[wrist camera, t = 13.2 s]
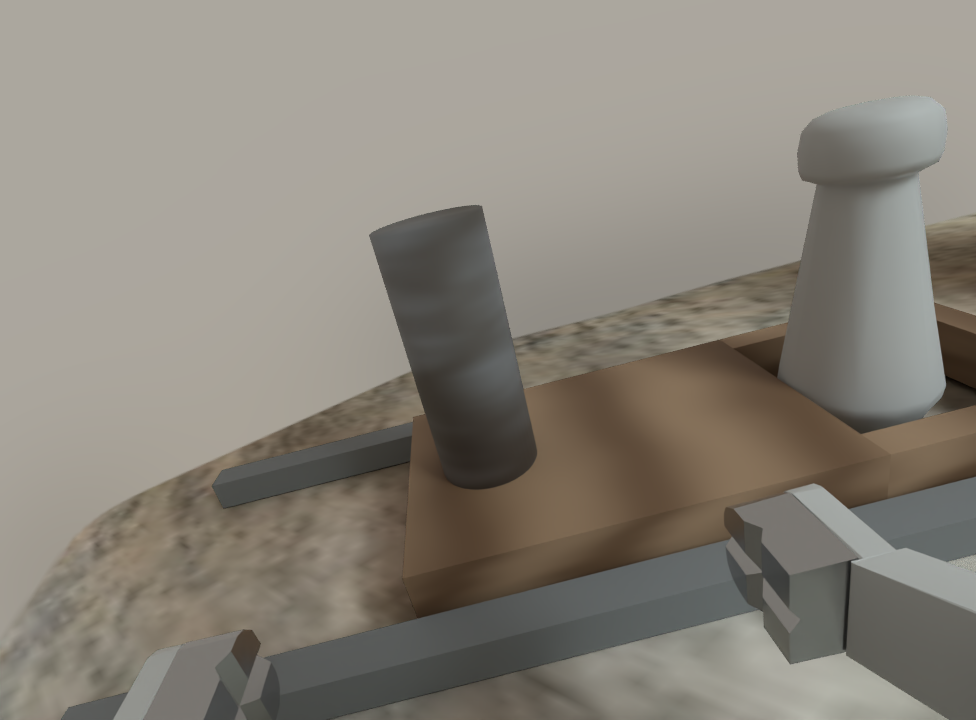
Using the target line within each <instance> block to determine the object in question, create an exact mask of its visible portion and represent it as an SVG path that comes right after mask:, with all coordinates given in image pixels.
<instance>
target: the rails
mask: <svg viewBox="0 0 976 720" xmlns="http://www.w3.org/2000/svg"><path fill="white" fill-rule="evenodd" d="M412 428H413V422H411V423H407V424H403V425H399V426H395V427H391V428H387V429H383V430H379V431H375V432H371V433H367V434H363V435H359V436H355V437H352V438H348V439H344V440H340V441H336V442H332V443H328V444H324V445H320V446H316V447H312V448H308V449H304V450H300V451H296V452H292V453H288V454H284V455H280V456H276V457H272V458H268V459H264V460H260V461H257V462H253V463H249V464H245V465H241V466H237V467H233V468H229V469H225V470H222V471H221V473H220V474H219V476H218V477H217V479H216V480H215V482H214V483H213V485H212V488H213V489H214V491H215V493H216V495H217V497H218V499H219V501H220V503H221V505H222V506H223V508H227V507H231V506H235V505H239V504H243V503H247V502H251V501H255V500H259V499H263V498H266V497H270V496H274V495H278V494H282V493H286V492H290V491H294V490H298V489H302V488H306V487H310V486H314V485H318V484H322V483H326V482H330V481H334V480H338V479H342V478H346V477H349V476H353V475H357V474H361V473H365V472H369V471H373V470H377V469H381V468H385V467H389V466H393V465H397V464H401V463H405V462H409V461H410V458H411V443H412ZM849 510H850V511H851V512H852V513H854V514H855V515H856V516H857V517H858V518H859V519H861V520H862V521H863V522H864V523H865V524H866V525H868V526H869V527H870V528H871V529H872V530H873V531H875V532H876V533H877V534H878V535H879V536H880V537H882V538H883V539H884V540H885V541H886V542H888V543H889V544H890V545H891V546H892V547H893V548H895V549H896V550H898V549H903V548H908V549H911V550H914V551H917V552H919V553H922V554H925V555H928V556H931V557H934V558H936V559H939V560H942V561H945V562H947V561H951V560H954V559H958V558H962V557H966V556H970V555H974V554H976V477H973V478H969V479H965V480H961V481H957V482H953V483H949V484H945V485H941V486H937V487H933V488H929V489H925V490H922V491H918V492H914V493H910V494H906V495H902V496H898V497H894V498H890V499H886V500H882V501H878V502H874V503H870V504H867V505H863V506H859V507H855V508H851V509H849ZM729 540H730V539H729ZM729 540H725V541H721V542H717V543H713V544H709V545H705V546H701V547H697V548H694V549H690V550H686V551H682V552H678V553H674V554H670V555H666V556H662V557H658V558H654V559H650V560H646V561H642V562H638V563H635V564H631V565H627V566H623V567H619V568H615V569H611V570H607V571H603V572H599V573H595V574H591V575H587V576H583V577H579V578H576V579H572V580H568V581H564V582H560V583H556V584H552V585H548V586H544V587H540V588H536V589H532V590H528V591H524V592H521V593H517V594H513V595H509V596H505V597H501V598H497V599H493V600H489V601H485V602H481V603H477V604H473V605H469V606H465V607H462V608H458V609H454V610H450V611H446V612H442V613H438V614H434V615H430V616H426V617H422V618H418V619H414V620H410V621H406V622H403V623H399V624H395V625H391V626H387V627H383V628H379V629H375V630H371V631H367V632H363V633H359V634H355V635H351V636H347V637H344V638H340V639H336V640H332V641H328V642H324V643H320V644H316V645H312V646H308V647H304V648H300V649H296V650H292V651H289V652H285V653H281V654H277V655H273V656H269V657H265V658H264V659H266V660H268V661H270V662H271V663H272V665H273V667H274V669H275V670H276V672H277V676H278V680H279V684H280V706H279V710H278V714H277V718H276V720H327V719H331V718H335V717H339V716H343V715H347V714H351V713H355V712H358V711H362V710H366V709H370V708H374V707H378V706H382V705H386V704H390V703H394V702H398V701H402V700H406V699H409V698H413V697H417V696H421V695H425V694H429V693H433V692H437V691H441V690H445V689H449V688H453V687H457V686H460V685H464V684H468V683H472V682H476V681H480V680H484V679H488V678H492V677H496V676H500V675H504V674H507V673H511V672H515V671H519V670H523V669H527V668H531V667H535V666H539V665H543V664H547V663H551V662H555V661H558V660H562V659H566V658H570V657H574V656H578V655H582V654H586V653H590V652H594V651H598V650H602V649H606V648H609V647H613V646H617V645H621V644H625V643H629V642H633V641H637V640H641V639H645V638H649V637H653V636H656V635H660V634H664V633H668V632H672V631H676V630H680V629H684V628H688V627H692V626H696V625H700V624H704V623H707V622H711V621H715V620H719V619H723V618H727V617H731V616H735V615H739V614H743V613H747V612H751V611H755V610H758V609H757V608H755V607H753V606H751V605H749V604H748V603H747V602H746V601H745V599H744V598H743V596H742V595H741V593H740V592H739V590H738V588H737V586H736V584H735V582H734V580H733V578H732V575H731V572H730V569H729V566H728V563H727V555H726V545H727V543H728V542H729ZM127 694H128V692H127V693H123V694H119V695H116V696H112V697H108V698H104V699H100V700H96V701H92V702H88V703H84V704H80V705H76V706H72V707H69V708H68V709H67V711H66V712H65V714H64V715H63V717H62V718H61V720H113V719H114V717H115V715H116V714H117V712H118V710H119V708H120V706H121V705H122V703H123V701H124V699H125V698H126V696H127Z"/></svg>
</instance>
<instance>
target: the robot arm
mask: <svg viewBox="0 0 976 720" xmlns="http://www.w3.org/2000/svg"><path fill="white" fill-rule="evenodd" d="M724 526H725V528H726V529H727V530H728V532H729V533H730V534H731V536H732V537H731V539H730V540H729V542H728V543H727V545H726V555H727V563H728V566H729V569H730V572H731V575H732V578H733V580H734V582H735V584H736V586H737V588H738V590H739V592H740V593H741V595H742V596H743V598H744V599H745V601H746V602H747V603H748V604H749V605H751V606H753V607H755V608H757V609H758V610H760V611H762V612H763V619H764V628H765V629H766V631H767V632H768V634H769V635H770V637H771V638H772V639H773V641H774V642H775V644H776V645H777V647H778V648H779V649H780V651H781V652H782V654H783V655H784V656H785V658H786V659H787V661H788V662H789V664H794V663H799V662H803V661H808V660H812V659H817V658H821V657H826V656H830V655H835V654H839V653H843V652H846V655H847V656H848V657H850V658H851V659H853V660H855V661H856V662H858V663H859V664H861V665H863V666H864V667H866V668H867V669H869V670H871V671H872V672H874V673H875V674H877V675H878V676H880V677H882V678H883V679H885V680H886V681H888V682H890V683H891V684H893V685H894V686H896V687H898V688H899V689H901V690H902V691H904V692H906V693H907V694H909V695H910V696H912V697H914V698H915V699H917V700H918V701H920V702H922V703H923V704H925V705H926V706H928V707H930V708H931V709H933V710H934V711H936V712H937V713H939V714H941V715H942V716H944V717H945V718H947V719H949V720H976V572H973V571H970V570H968V569H965V568H962V567H959V566H956V565H953V564H951V563H948V562H945V561H942V560H939V559H936V558H934V557H931V556H928V555H925V554H922V553H919V552H917V551H914V550H911V549H908V548H903V549H898V550H896V549H895V548H893V547H892V546H891V545H890V544H889V543H888V542H886V541H885V540H884V539H883V538H882V537H880V536H879V535H878V534H877V533H876V532H875V531H873V530H872V529H871V528H870V527H869V526H868V525H866V524H865V523H864V522H863V521H862V520H861V519H859V518H858V517H857V516H856V515H855V514H854V513H852V512H851V511H850V510H849V509H848V508H847V507H845V506H844V505H843V504H842V503H841V502H840V501H838V500H837V499H836V498H835V497H834V496H833V495H831V494H830V493H829V492H828V491H827V490H825V489H824V488H823V487H822V486H820V485H817V484H814V483H813V484H810V485H806V486H802V487H798V488H795V489H791V490H787V491H784V492H783V493H777V494H773V495H769V496H765V497H762V498H758V499H754V500H750V501H747V502H743V503H739V504H735V505H731V506H728V507H726V508H725V511H724ZM260 644H261V643H260V642H259V640H258V639H257V637H256V636H255V634H254V632H253V631H252V630H240V631H235V632H231V633H227V634H222V635H218V636H213V637H209V638H204V639H200V640H196V641H191V642H187V643H186V644H181V645H177V646H172V647H168V648H163V649H159V650H157V651H156V652H154V653H153V654H152V655H151V656H149V657H148V658H147V660H146V662H145V664H144V665H143V667H142V669H141V671H140V673H139V674H138V676H137V678H136V680H135V682H134V683H133V685H132V687H131V689H130V690H129V692H128V694H127V696H126V698H125V699H124V701H123V703H122V705H121V706H120V708H119V710H118V712H117V714H116V715H115V717H114V719H113V720H276V718H277V714H278V710H279V706H280V684H279V680H278V676H277V672H276V670H275V669H274V667H273V665H272V663H271V662H270V661H268V660H266V659H264V658H262V657H260V656H258V655H257V653H258V650H259V647H260Z"/></svg>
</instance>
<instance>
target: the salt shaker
mask: <svg viewBox="0 0 976 720" xmlns="http://www.w3.org/2000/svg"><path fill="white" fill-rule="evenodd" d="M947 131H948V127H947V119H946V110H945V108H944V107H943V106H941V105H940V104H939V103H937V102H936V101H935V100H934V99H933V98H931V97H923V96H902V97H893V98H887V99H881V100H875V101H868V102H864V103H860V104H856V105H851V106H847V107H843V108H839V109H836V110H833V111H830V112H828V113H825V114H823V115H821V116H819V117H817V118H815V119H813V120H812V121H811V122H810V123H809V124H808V125H807V127H806V128H805V129H804V130H803V131H802V133H801V137H800V142H799V147H798V153H797V157H798V170H799V174H800V177H801V179H802V180H803V181H807V182H811V183H814V184H817V186H816V191H815V195H814V200H813V205H812V210H811V215H810V220H809V224H808V229H807V234H806V239H805V244H804V248H803V253H802V259H801V263H800V268H799V272H798V277H797V282H796V287H795V292H794V297H793V301H792V306H791V311H790V316H789V321H788V325H787V330H786V335H785V340H784V345H783V349H782V354H781V359H780V364H779V370H778V376H777V378H778V379H779V380H781V381H782V382H784V383H785V384H787V385H788V386H790V387H791V388H793V389H794V390H796V391H797V392H799V393H800V394H802V395H803V396H805V397H806V398H808V399H809V400H811V401H812V402H814V403H815V404H817V405H818V406H820V407H821V408H823V409H824V410H826V411H827V412H829V413H830V414H832V415H833V416H835V417H836V418H838V419H839V420H841V421H842V422H844V423H845V424H847V425H848V426H850V427H851V428H853V429H854V430H855V431H857V432H858V433H860V434H864V433H868V432H872V431H876V430H880V429H884V428H887V427H891V426H895V425H899V424H903V423H907V422H911V421H915V420H919V419H922V418H923V416H924V415H925V414H926V413H927V412H928V411H929V410H930V409H931V408H932V407H933V406H934V405H935V404H936V403H937V402H938V401H939V400H940V398H941V397H942V395H943V393H944V390H945V387H946V381H945V374H944V368H943V361H942V354H941V348H940V341H939V334H938V328H937V321H936V314H935V307H934V299H933V291H932V282H931V274H930V265H929V257H928V249H927V240H926V232H925V223H924V215H923V207H922V198H921V190H920V181H919V174H918V172H919V171H922V170H923V169H925V168H927V167H929V166H931V165H933V164H935V163H937V162H939V160H940V158H941V156H942V154H943V152H944V148H945V143H946V137H947Z"/></svg>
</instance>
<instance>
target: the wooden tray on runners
mask: <svg viewBox="0 0 976 720" xmlns="http://www.w3.org/2000/svg"><path fill="white" fill-rule="evenodd" d="M369 236H370V239H371V243H372V246H373V249H374V252H375V255H376V259H377V262H378V265H379V268H380V271H381V274H382V278H383V281H384V284H385V287H386V290H387V293H388V297H389V300H390V303H391V306H392V309H393V312H394V316H395V319H396V322H397V325H398V328H399V331H400V335H401V338H402V341H403V344H404V347H405V351H406V353H407V357H408V360H409V363H410V366H411V370H412V373H413V376H414V379H415V382H416V385H417V389H418V392H419V395H420V398H421V401H422V405H423V408H424V411H425V414H423V415H419V416H415V417H413V428H412V443H411V458H410V472H409V487H408V502H407V517H406V531H405V546H404V561H403V576H402V579H403V582H404V584H405V587H406V589H407V592H408V594H409V597H410V600H411V602H412V605H413V607H414V610H415V612H416V615H417V618H422V617H426V616H430V615H434V614H438V613H442V612H446V611H450V610H454V609H458V608H462V607H465V606H469V605H473V604H477V603H481V602H485V601H489V600H493V599H497V598H501V597H505V596H509V595H513V594H517V593H521V592H524V591H528V590H532V589H536V588H540V587H544V586H548V585H552V584H556V583H560V582H564V581H568V580H572V579H576V578H579V577H583V576H587V575H591V574H595V573H599V572H603V571H607V570H611V569H615V568H619V567H623V566H627V565H631V564H635V563H638V562H642V561H646V560H650V559H654V558H658V557H662V556H666V555H670V554H674V553H678V552H682V551H686V550H690V549H694V548H697V547H701V546H705V545H709V544H713V543H717V542H721V541H725V540H729V539H731V537H732V536H731V534H730V533H729V532H728V530H727V529H726V528H725V526H724V511H725V508H726V507H728V506H731V505H735V504H739V503H743V502H747V501H750V500H754V499H758V498H762V497H765V496H769V495H773V494H777V493H783V492H784V491H787V490H791V489H795V488H798V487H802V486H806V485H810V484H813V483H814V484H817V485H820V486H822V487H823V488H824V489H825V490H827V491H828V492H829V493H830V494H831V495H833V496H834V497H835V498H836V499H837V500H838V501H840V502H841V503H842V504H843V505H844V506H845V507H847V508H848V509H851V508H855V507H859V506H863V505H867V504H870V503H874V502H878V501H882V500H886V499H890V498H894V497H898V496H902V495H906V494H910V493H914V492H918V491H922V490H925V489H929V488H933V487H937V486H941V485H945V484H949V483H953V482H957V481H961V480H965V479H969V478H973V477H976V405H974V406H970V407H966V408H962V409H958V410H954V411H951V412H947V413H943V414H939V415H935V416H931V417H927V418H923V419H919V420H915V421H911V422H907V423H903V424H899V425H895V426H891V427H887V428H884V429H880V430H876V431H872V432H868V433H864V434H860V433H858V432H857V431H855V430H854V429H853V428H851V427H850V426H848V425H847V424H845V423H844V422H842V421H841V420H839V419H838V418H836V417H835V416H833V415H832V414H830V413H829V412H827V411H826V410H824V409H823V408H821V407H820V406H818V405H817V404H815V403H814V402H812V401H811V400H809V399H808V398H806V397H805V396H803V395H802V394H800V393H799V392H797V391H796V390H794V389H793V388H791V387H790V386H788V385H787V384H785V383H784V382H782V381H781V380H779V379H778V378H777V376H778V370H779V364H780V359H781V354H782V349H783V345H784V340H785V335H786V330H787V325H788V323H784V324H780V325H776V326H772V327H768V328H764V329H760V330H756V331H752V332H748V333H744V334H740V335H736V336H732V337H728V338H724V339H720V340H716V341H712V342H709V343H705V344H701V345H697V346H693V347H689V348H685V349H681V350H677V351H673V352H669V353H665V354H661V355H657V356H653V357H649V358H645V359H641V360H637V361H633V362H629V363H625V364H621V365H617V366H613V367H610V368H606V369H602V370H598V371H594V372H590V373H586V374H582V375H578V376H574V377H570V378H566V379H562V380H558V381H554V382H550V383H546V384H542V385H538V386H534V387H530V388H526V389H523V385H522V381H521V376H520V372H519V368H518V363H517V359H516V354H515V350H514V345H513V341H512V337H511V332H510V328H509V323H508V319H507V315H506V310H505V306H504V302H503V297H502V293H501V288H500V284H499V280H498V275H497V271H496V267H495V262H494V257H493V253H492V248H491V244H490V240H489V236H488V231H487V226H486V222H485V218H484V213H483V209H482V206H479V205H471V206H462V207H455V208H450V209H445V210H440V211H436V212H432V213H427V214H424V215H420V216H416V217H413V218H409V219H405V220H402V221H399V222H396V223H393V224H391V225H387V226H385V227H382V228H380V229H378V230H376V231H374V232H372V233H371V234H370V235H369ZM934 307H935V314H936V321H937V328H938V334H939V341H940V348H941V354H942V361H943V368H944V374H945V375H946V376H948V377H950V378H952V379H955V380H957V381H959V382H961V383H964V384H966V385H968V386H970V387H973V388H975V389H976V316H975V315H972V314H969V313H965V312H962V311H959V310H956V309H952V308H949V307H946V306H943V305H940V304H936V303H934Z"/></svg>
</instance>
